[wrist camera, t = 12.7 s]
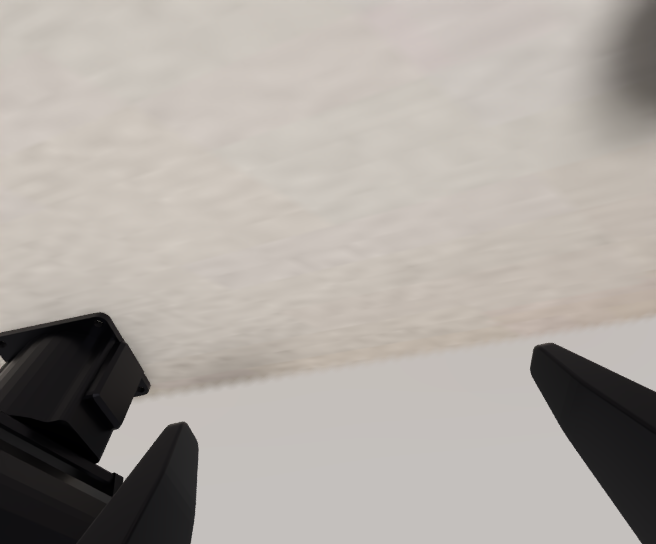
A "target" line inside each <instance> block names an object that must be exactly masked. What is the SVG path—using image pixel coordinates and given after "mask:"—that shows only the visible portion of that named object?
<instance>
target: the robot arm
mask: <svg viewBox="0 0 656 544" xmlns="http://www.w3.org/2000/svg"><path fill="white" fill-rule="evenodd" d="M97 320H100V321H102V322H103V323H100V322H98V321H97ZM0 356H1V357H2V358H3V359H4V360H5V361H6V363H5V364H4V365H3V366H2V367H1V369H0V544H190V543H191V538H192V531H193V525H194V517H195V505H196V489H197V488H196V487H197V469H198V443H197V440H196V438H195V436H194V435H193V433H192V431H191V429H190V428H189V426H188V424H187V423H185V422H179V423H174V424H170V425H168V426H167V427H166V428H165V429H164V431H163V432H162V433H161V434H160V436H159V437H158V438H157V440H156V441H155V442H154V443H153V445H152V446H151V447H150V449H149V450H148V451H147V453H146V454H145V455H144V456H143V458H142V459H141V460H140V462H139V463H138V464H137V466H136V467H135V468H134V470H133V471H132V472H131V473H130V475H129V476H128V477H127V478H126V480H125V481H124V482H123V477H122V476H120V475H118V474H116V473H110V472H109V471H107V470H105V469H103V468H102V467H100V466H98V465H96V463H98V462H99V461H100V458H101V456H102V454H103V452H104V450H105V447H106V445H107V443H108V441H109V438H110V436H111V434H112V432H113V430H116V429H118V428H119V427H120V426H121V425H122V423H123V420H124V418H125V416H126V413H127V411H128V409H129V406H130V404H131V402H132V399H133V397H137V396H141V395H145V394H147V393H148V392H149V389H150V386H151V385H150V382H149V381H148V379H147V377H146V376H145V374H144V371H143V369H142V367H141V366H140V364H139V362H138V361H137V359H136V357H135V356H134V354H133V352H132V351H131V349H130V348H129V346H128V344H127V343H126V342H125V341H124V340H123V338H122V336H121V335H120V333H119V331H118V330H117V328H116V326H115V325H114V323H113V321H112V320H111V318H110V317H109V316H108V315H107V314H105V313H101V312H100V313H93V314H88V315H83V316H79V317H74V318H69V319H64V320H59V321H55V322H50V323H45V324H40V325H35V326H31V327H26V328H21V329H16V330H11V331H7V332H2V333H0ZM530 371H531V375H532V377H533V379H534V381H535V383H536V384H537V386H538V388H539V390H540V391H541V393H542V395H543V397H544V398H545V400H546V402H547V404H548V405H549V407H550V409H551V410H552V413H553V414H554V416H555V418H556V420H557V421H558V423H559V425H560V427H561V428H562V430H563V431H564V433H565V435H566V436H567V438H568V439H569V441H570V442H571V443H572V445H573V446H574V448H575V449H576V451H577V452H578V453H579V455H580V456H581V458H582V459H583V461H584V462H585V463H586V465H587V466H588V468H589V469H590V470H591V472H592V473H593V475H594V476H595V477H596V479H597V480H598V482H599V483H600V485H601V486H602V488H603V489H604V490H605V492H606V493H607V495H608V496H609V497H610V499H611V500H612V501H613V503H614V505H615V506H616V507H617V509H618V510H619V512H620V513H621V514H622V516H623V517H624V519H625V520H626V521H627V523H628V524H629V526H630V527H631V529H632V530H633V531H634V533H635V534H636V536H637V537H638V539H639V540H640V541H641V543H642V544H656V392H655V391H653V390H651V389H648V388H646V387H644V386H642V385H640V384H638V383H636V382H634V381H631V380H629V379H627V378H625V377H623V376H621V375H619V374H617V373H615V372H613V371H611V370H609V369H607V368H605V367H602V366H600V365H598V364H596V363H594V362H592V361H590V360H588V359H586V358H584V357H582V356H579V355H577V354H575V353H573V352H571V351H569V350H567V349H565V348H563V347H561V346H559V345H556V344H554V343H545V344H541V345H537V346H535V347H534V349H533V355H532V360H531V366H530ZM141 387H143V388H141Z"/></svg>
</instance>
